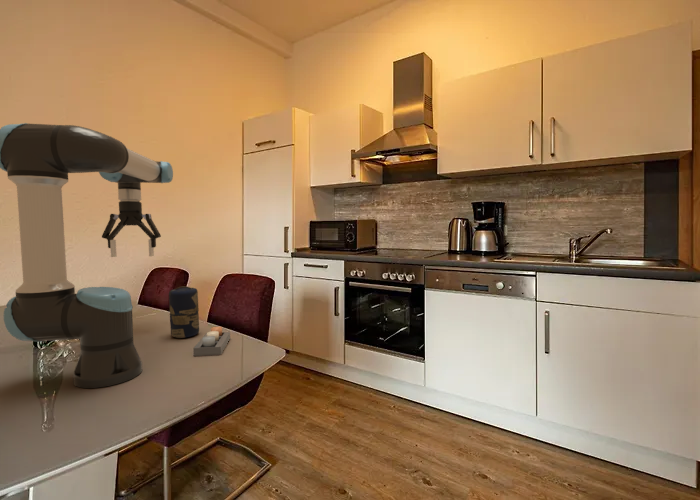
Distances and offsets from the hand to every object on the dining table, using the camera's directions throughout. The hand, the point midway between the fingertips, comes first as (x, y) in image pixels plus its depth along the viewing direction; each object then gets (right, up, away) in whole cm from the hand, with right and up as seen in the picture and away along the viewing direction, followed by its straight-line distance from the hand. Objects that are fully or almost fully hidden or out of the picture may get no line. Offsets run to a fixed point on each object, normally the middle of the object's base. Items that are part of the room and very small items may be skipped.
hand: (132, 256), depth 142 cm
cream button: (+39, -27, -22) cm, 53 cm away
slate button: (+40, -27, -28) cm, 56 cm away
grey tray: (+39, -29, -22) cm, 54 cm away
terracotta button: (+39, -27, -17) cm, 50 cm away
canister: (+24, -29, -9) cm, 39 cm away
